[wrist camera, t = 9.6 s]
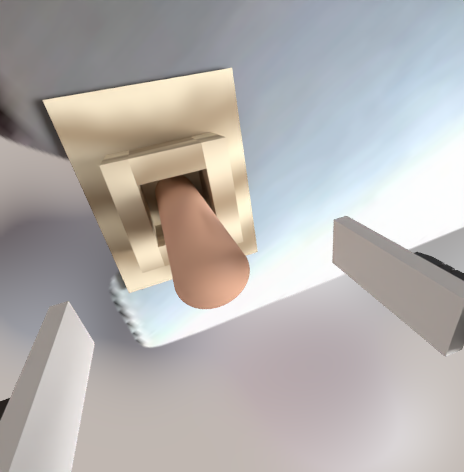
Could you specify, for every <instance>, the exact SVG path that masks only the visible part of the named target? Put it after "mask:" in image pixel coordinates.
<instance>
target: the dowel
mask: <svg viewBox="0 0 464 472" xmlns="http://www.w3.org/2000/svg"><path fill="white" fill-rule="evenodd" d="M155 196H156V201H157V206H158V210H159V215H160V220H161V225H162V230H163V234H164V239H165V244H166V249H167V253H168V258H169V263H170V268H171V272H172V277H173V282H174V287H175V290H176V293H177V295H178V296H179V298H180V299H181V300H182V301H183V302H184V303H186V304H187V305H189V306H192V307H194V308H199V309H212V308H217V307H220V306H223V305H225V304H227V303H229V302H230V301H232V300H233V299H235V298H236V297H237V296H238V295H239V294H240V293H241V292H242V290H243V289H244V287H245V286H246V284H247V281H248V278H249V273H250V268H249V262H248V260H247V258H246V256H245V254H244V253H243V252H242V250H241V249H240V248H239V246H238V245H237V244H236V242H235V241H234V239H233V238H232V237H231V235H230V234H229V233H228V231H227V230H226V229H225V227H224V226H223V224H222V223H221V222H220V220H219V219H218V218H217V216H216V215H215V214H214V212H213V211H212V210H211V208H210V207H209V205H208V204H207V203H206V201H205V200H204V199H203V197H202V196H201V195H200V193H199V192H198V190H197V189H196V188H195V186H194V185H193V184H192V182H191V181H190V180H189V179H188V178H187V177H185V176H183V175H178V176H174V177H170V178H166V179H162V180H160V181H159V182H158V184H157V186H156V189H155Z"/></svg>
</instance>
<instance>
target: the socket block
mask: <svg viewBox="0 0 464 472" xmlns="http://www.w3.org/2000/svg"><path fill="white" fill-rule="evenodd" d="M43 102H44V105H45V107H46V109H47V111H48V113H49V116H50V118H51V120H52V122H53V125H54V127H55V129H56V131H57V133H58V136H59V138H60V140H61V142H62V145H63V147H64V149H65V151H66V154H67V156H68V158H69V160H70V162H71V165H72V167H73V169H74V171H75V173H76V176H77V178H78V180H79V182H80V185H81V187H82V189H83V191H84V194H85V196H86V198H87V200H88V202H89V205H90V207H91V209H92V211H93V214H94V216H95V218H96V220H97V222H98V224H99V227H100V229H101V231H102V234H103V236H104V238H105V240H106V242H107V245H108V247H109V249H110V251H111V253H112V256H113V258H114V260H115V262H116V265H117V267H118V269H119V271H120V274H121V276H122V278H123V280H124V282H125V285H126V287H127V289H128V291H129V293H131V292H134V291H137V290H140V289H143V288H147V287H150V286H153V285H156V284H159V283H162V282H165V281H168V280H171V279H173V277H172V272H171V268H170V263H169V258H168V253H167V249H166V244H165V239H164V234H163V230H162V225H161V220H160V215H159V210H158V206H157V201H156V196H155V189H156V186H157V184H158V182H159V181H160V180H162V179H166V178H170V177H174V176H178V175H183V176H185V177H187V178H188V179H189V180H190V181H191V182H192V184H193V185H194V186H195V188H196V189H197V190H198V192H199V193H200V195H201V196H202V197H203V199H204V200H205V201H206V203H207V204H208V205H209V207H210V208H211V210H212V211H213V212H214V214H215V215H216V216H217V218H218V219H219V220H220V222H221V223H222V224H223V226H224V227H225V229H226V230H227V231H228V233H229V234H230V235H231V237H232V238H233V239H234V241H235V242H236V244H237V245H238V246H239V248H240V249H241V250H242V252H243V253H244V254H245V256H246V255H249V254H252V253H255V252H258V251H257V244H256V237H255V230H254V223H253V216H252V208H251V201H250V194H249V187H248V180H247V173H246V166H245V158H244V151H243V144H242V137H241V130H240V123H239V115H238V108H237V101H236V94H235V87H234V80H233V72H232V68H228V69H223V70H217V71H211V72H205V73H199V74H193V75H187V76H182V77H176V78H170V79H164V80H158V81H152V82H146V83H141V84H135V85H129V86H123V87H117V88H111V89H105V90H99V91H94V92H88V93H82V94H76V95H70V96H64V97H58V98H53V99H47V100H43Z"/></svg>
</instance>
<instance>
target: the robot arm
mask: <svg viewBox="0 0 464 472" xmlns="http://www.w3.org/2000/svg"><path fill="white" fill-rule="evenodd" d="M332 262H333V263H334V264H335V265H336V266H337V267H338V268H340V269H341V270H342V271H343V272H344V273H346V274H347V275H348V276H349V277H350V278H352V279H353V280H354V281H355V282H356V283H358V284H359V285H360V286H361V287H362V288H364V289H365V290H366V291H367V292H368V293H370V294H371V295H372V296H373V297H375V298H376V299H377V300H378V301H379V302H380V303H382V304H383V305H384V306H385V307H386V308H388V309H389V310H390V311H391V312H392V313H394V314H395V315H396V316H397V317H398V318H399V319H401V320H402V321H403V322H404V323H405V324H407V325H408V326H409V327H410V328H411V329H413V330H414V331H415V332H416V333H417V334H419V335H420V336H421V337H422V338H424V339H425V340H426V341H427V342H428V343H429V344H431V345H432V346H433V347H434V348H435V349H436V350H438V351H439V352H440V353H441V354H443V355H444V356H445V357H446V356H448V355H451V354H453V353H455V352H457V351H459V350H461V349H462V348H463V345H464V273H462V272H460V271H458V270H455V269H454V268H452V267H451V266H448V265H445V264H444V263H443V262H441V261H439V260H437V259H436V258H434V257H432V256H429V255H425V254H422V253H418V252H416V253H412V252H411V251H409V250H407V249H405V248H403V247H402V246H400V245H398V244H396V243H394V242H393V241H391V240H389V239H387V238H385V237H384V236H382V235H380V234H378V233H376V232H375V231H373V230H371V229H369V228H368V227H366V226H364V225H362V224H360V223H359V222H357V221H355V220H353V219H351V218H350V217H348V216H344V217H341V218H338V219H334V229H333V260H332ZM94 344H95V343H94V341H93V340H92V338H91V337H90V335H89V333H88V332H87V330H86V329H85V327H84V325H83V324H82V322H81V320H80V319H79V317H78V315H77V314H76V312H75V311H74V309H73V308H72V306H71V304H70V302H69V301H67V302H64V303H60V304H57V305H54V306H51V307H49V309H48V312H47V314H46V316H45V319H44V321H43V323H42V326H41V328H40V330H39V333H38V335H37V337H36V339H35V342H34V344H33V346H32V349H31V351H30V353H29V356H28V358H27V360H26V362H25V365H24V367H23V370H22V372H21V374H20V376H19V379H18V381H17V383H16V386H15V388H14V390H13V392H12V395H11V397H10V398H8V399H6V400H3V401H0V472H71V470H72V465H73V459H74V454H75V448H76V443H77V437H78V432H79V426H80V421H81V415H82V410H83V404H84V399H85V393H86V388H87V382H88V377H89V372H90V366H91V361H92V355H93V350H94Z"/></svg>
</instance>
